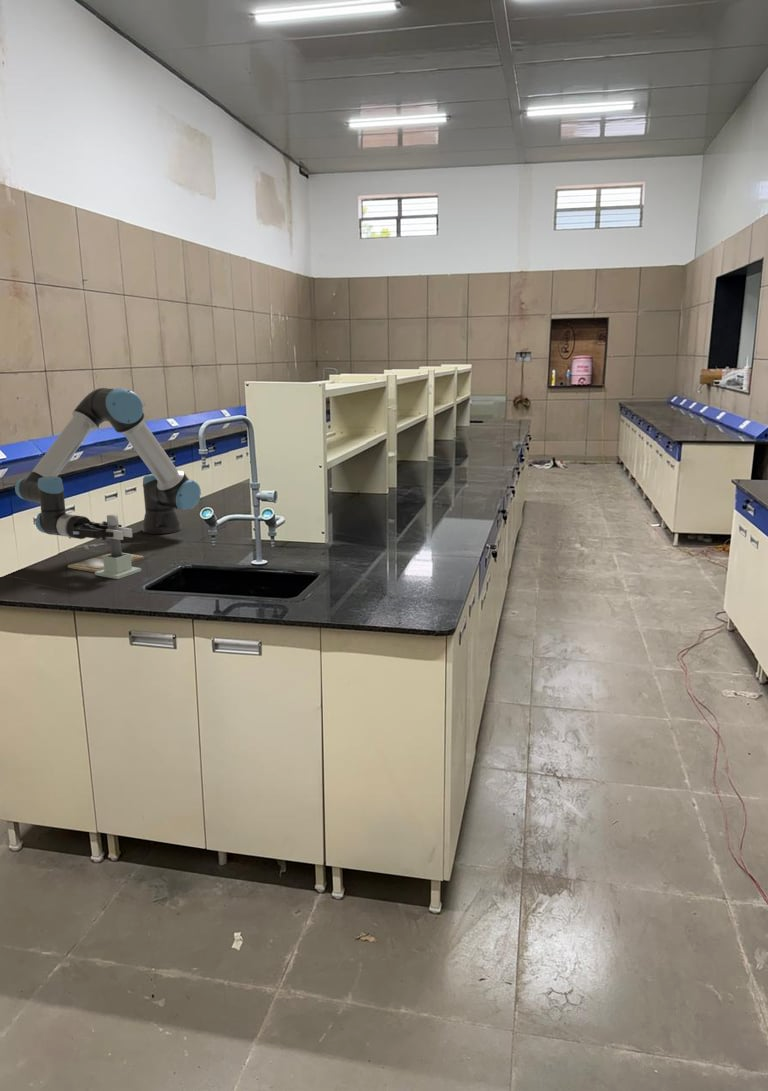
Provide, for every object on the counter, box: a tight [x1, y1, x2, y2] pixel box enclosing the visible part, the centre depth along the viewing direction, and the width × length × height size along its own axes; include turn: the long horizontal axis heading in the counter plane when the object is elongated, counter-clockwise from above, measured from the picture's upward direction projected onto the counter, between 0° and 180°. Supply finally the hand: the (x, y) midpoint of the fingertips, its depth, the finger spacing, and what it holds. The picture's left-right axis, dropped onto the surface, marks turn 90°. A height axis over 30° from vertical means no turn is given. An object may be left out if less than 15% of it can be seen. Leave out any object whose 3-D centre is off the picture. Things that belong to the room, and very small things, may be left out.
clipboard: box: [67, 552, 144, 573], centre depth 250 cm, size 20×14×2 cm
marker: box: [106, 513, 123, 558], centre depth 235 cm, size 3×3×15 cm
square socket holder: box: [94, 552, 142, 580], centre depth 238 cm, size 10×10×6 cm
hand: (126, 534), depth 233 cm, fingers closed on marker, 3 cm apart
